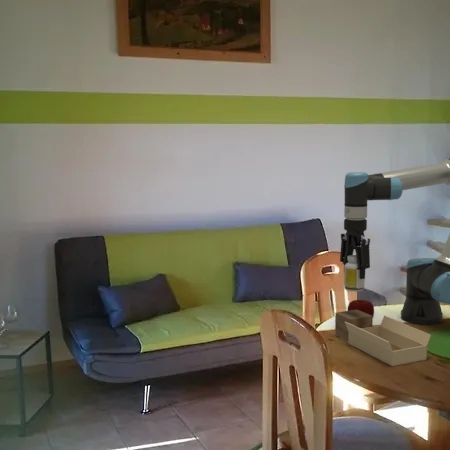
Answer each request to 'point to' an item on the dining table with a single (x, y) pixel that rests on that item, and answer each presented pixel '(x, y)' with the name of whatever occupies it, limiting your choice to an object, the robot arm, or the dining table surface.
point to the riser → (351, 322)
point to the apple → (361, 306)
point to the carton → (390, 341)
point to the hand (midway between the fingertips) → (354, 285)
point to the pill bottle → (351, 274)
